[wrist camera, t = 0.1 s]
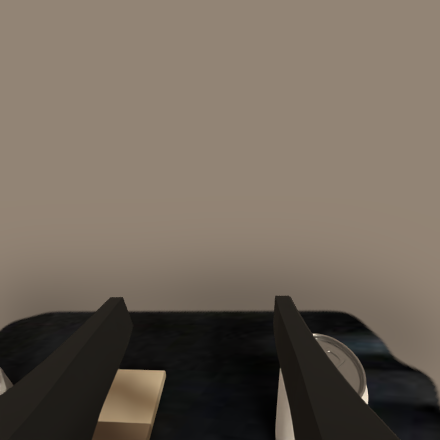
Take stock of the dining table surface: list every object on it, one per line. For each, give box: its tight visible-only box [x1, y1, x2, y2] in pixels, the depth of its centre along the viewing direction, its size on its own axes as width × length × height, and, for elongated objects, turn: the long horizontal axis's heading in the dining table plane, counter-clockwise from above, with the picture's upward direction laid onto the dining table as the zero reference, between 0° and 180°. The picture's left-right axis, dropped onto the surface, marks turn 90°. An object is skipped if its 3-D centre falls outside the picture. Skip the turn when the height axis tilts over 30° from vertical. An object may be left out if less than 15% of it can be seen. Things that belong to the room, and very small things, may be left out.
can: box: [275, 334, 368, 440], centre depth 21 cm, size 6×6×12 cm
